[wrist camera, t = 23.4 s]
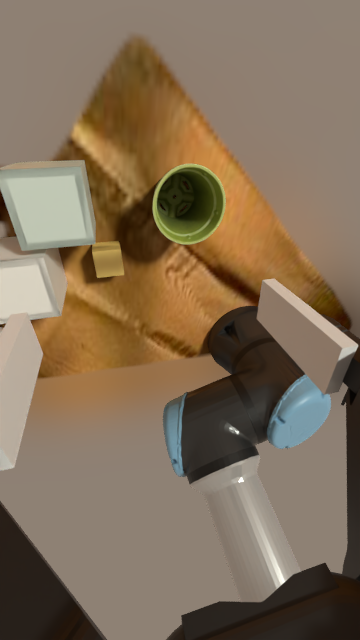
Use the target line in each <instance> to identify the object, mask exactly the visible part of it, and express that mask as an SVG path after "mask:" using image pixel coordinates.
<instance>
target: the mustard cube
mask: <svg viewBox="0 0 360 640" xmlns="http://www.w3.org/2000/svg"><path fill="white" fill-rule="evenodd" d="M92 254H93V259H94V264H95V269H96V274H97V278H101V277H110V276H118V275H124V269H123V262H122V255H121V248H120V244H119V241H112V242H102V243H95V244H92Z"/></svg>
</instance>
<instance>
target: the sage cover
mask: <svg viewBox="0 0 360 640" xmlns="http://www.w3.org/2000/svg"><path fill="white" fill-rule="evenodd" d="M0 189H1V192H2V195H3V198H4V201H5V204H6V207H7V210H8V213H9V215H10V218H11V221H12V224H13V227H14V230H15V233H16V236H17V239H18V241H19V244H20V247H21V250H22V251H26V250H37V249H48V248H59V247H69V246H80V245H91V244H95V229H96V222H95V217H94V211H93V206H92V200H91V195H90V189H89V184H88V178H87V173H86V167H85V162H84V160H73V161H45V162H18V163H15V164H11V165H8V166H5V167H2V168H0Z"/></svg>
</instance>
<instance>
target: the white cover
mask: <svg viewBox="0 0 360 640" xmlns="http://www.w3.org/2000/svg"><path fill="white" fill-rule="evenodd" d="M67 284H68V283H67V279H66V275H65V272H64V268H63V264H62V261H61V257H60V253H59V249H58V248H48V249H37V250H26V251H22V250H21V247H20V244H19V241H18V239H17V236H15V237H3V238H0V324H5V323H7V321H8V319H9V317H10V315H11V314H18V313H26V312H27V313H28V316H29V319H30V320H34V319H41V318H48V317H56V316H61V314H62V309H63V304H64V299H65V294H66V289H67Z"/></svg>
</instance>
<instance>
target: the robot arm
mask: <svg viewBox="0 0 360 640" xmlns="http://www.w3.org/2000/svg"><path fill="white" fill-rule="evenodd" d="M208 348H209V351H210V353H211V355H212V357H213V358H214V360H215V361H216V362H217V363H218V364H219V365H220V366H222V367H223V368H224V369H225V370H227V371H228V372H229V373H230V374H232V375H230V376H228V377H225V378H222V379H220V380H218V381H215V382H213V383H210V384H208V385H206V386H203V387H201V388H199V389H196V390H194V391H191V392H186V393H184V395H182V396H180V397H178V398H176V399H174V400H172V401H170V402H169V403H167V405H166V406H165V408H164V413H163V427H164V435H165V441H166V446H167V450H168V454H169V457H170V459H171V462H172V466H173V469H174V471H175V473H176V474H177V475H178V476H180V477H181V476H182V477H186V476H187V477H188V480H189V484H190V487H191V488H193V489H195V490H196V491H198V492H200V493H202V495H204V497H205V500H206V502H207V505H208V508H209V511H210V514H211V517H212V520H213V523H214V526H215V529H216V532H217V535H218V537H219V541H220V543H221V546H222V549H223V552H224V555H225V558H226V561H227V564H228V567H229V570H230V573H231V576H232V579H233V581H234V585H235V587H236V590H237V593H238V596H239V599H240V602H217V603H214V604H212V605H209V606H206V607H204V608H201V609H198V610H195V611H192V612H190V613H187V614H184V615H182V616H181V617H182V625H180V626H179V627H178V628H177V629H176V630H175V631H174V632H173V633H172V634H171V635H170V636H169V637H168V638H167V639H166V640H360V339H359V338H358V337H356V336H355V335H354V334H352V333H351V332H350V331H347V329H346V328H344V327H343V326H341V324H339V323H338V322H337V321H335V320H334V319H332V318H330V317H328V316H325V315H320V314H319V313H317V312H316V311H315V310H313V309H312V308H311V307H310V306H308V305H307V304H306V303H305V302H303V301H302V300H301V299H299V298H298V297H297V296H296V295H294V294H293V293H292V292H291V291H289V290H288V289H287V288H285V287H284V286H283V285H282V284H280V283H279V282H278V281H277V280H275V279H268V280H263V281H262V287H261V293H260V300H259V306H258V307H256V306H245V307H240V308H237V309H234V310H232V311H230V312H229V313H227V314H226V315H224V316H223V317H222V318H221V319H219V320H218V322H217V323H216V324H215V325H214V327H213V328H212V330H211V332H210V335H209V339H208ZM42 356H43V352H42V350H41V347H40V344H39V342H38V339H37V337H36V334H35V332H34V329H33V326H32V324H31V321H30V319H29V316H28V313H27V312H26V313H18V314H11V315H10V317H9V319H8V321H7V323H6V325H5V327H4V329H3V331H2V333H1V335H0V471H2V470H6V469H10V468H14V466H15V462H16V458H17V454H18V450H19V446H20V443H21V439H22V435H23V431H24V427H25V423H26V419H27V415H28V411H29V407H30V403H31V399H32V395H33V392H34V388H35V384H36V380H37V376H38V372H39V368H40V364H41V360H42ZM343 382H344V383H345V384H346V385H347V386H348V387H349V388H348V390H347V392H346V394H345V396H344V399H343V401H342V403H341V405H344V404H345V402H346V418H347V419H346V421H347V422H346V427H347V527H348V528H347V529H348V545H347V553H346V557H345V560H344V565H343V572H342V574H339V573H334V572H330V570H329V569H328V567H327V565H326V563H323V564H320V565H318V566H315V567H312V568H309V569H307V570H304V571H301V570H300V568H299V565H298V563H297V561H296V559H295V557H294V554H293V552H292V550H291V548H290V546H289V543H288V541H287V539H286V537H285V534H284V532H283V530H282V528H281V526H280V523H279V521H278V519H277V517H276V515H275V512H274V510H273V508H272V506H271V503H270V501H269V499H268V497H267V494H266V492H265V490H264V488H263V486H262V483H261V481H260V479H259V477H258V475H257V468H258V465H259V461H260V455H259V454H258V451H257V449H256V447H255V445H257V444H259V443H262V442H264V441H266V440H268V441H269V443H271V444H272V445H273V446H275V447H277V448H280V449H283V448H284V447H285V448H290V447H293V446H296V445H298V444H300V443H301V442H303V441H305V440H306V439H308V438H309V437H310V436H311V435H313V434H314V433H315V432H316V431H317V430H318V429H319V428H320V427H321V425H322V424H323V423H324V421H325V420H326V418H327V416H328V414H329V412H330V407H331V399H330V396H329V394H330V393H334V392H338V391H339V389H340V387H341V385H342V383H343ZM0 640H107V639H106V638H105V636H104V635H103V634H102V633H101V631H100V630H99V629H98V627H97V626H96V625H95V623H94V622H93V621H92V620H91V618H90V617H89V616H88V614H87V613H86V612H85V610H84V609H83V608H82V607H81V605H80V604H79V603H78V601H77V600H76V599H75V597H74V596H73V595H72V594H71V592H70V591H69V590H68V589H67V587H66V586H65V585H64V583H63V582H62V581H61V579H60V578H59V577H58V575H57V574H56V573H55V572H54V570H53V569H52V568H51V566H50V565H49V564H48V563H47V561H46V560H45V559H44V557H43V556H42V555H41V553H40V552H39V551H38V549H37V548H36V547H35V546H34V544H33V543H32V542H31V540H30V539H29V538H28V536H27V535H26V534H25V533H24V531H23V530H22V529H21V527H19V525H18V523H17V522H16V521H15V520H14V518H13V517H12V516H11V514H10V513H9V512H8V511H7V509H6V508H5V507H4V505H3V504H2V503H1V502H0Z"/></svg>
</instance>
